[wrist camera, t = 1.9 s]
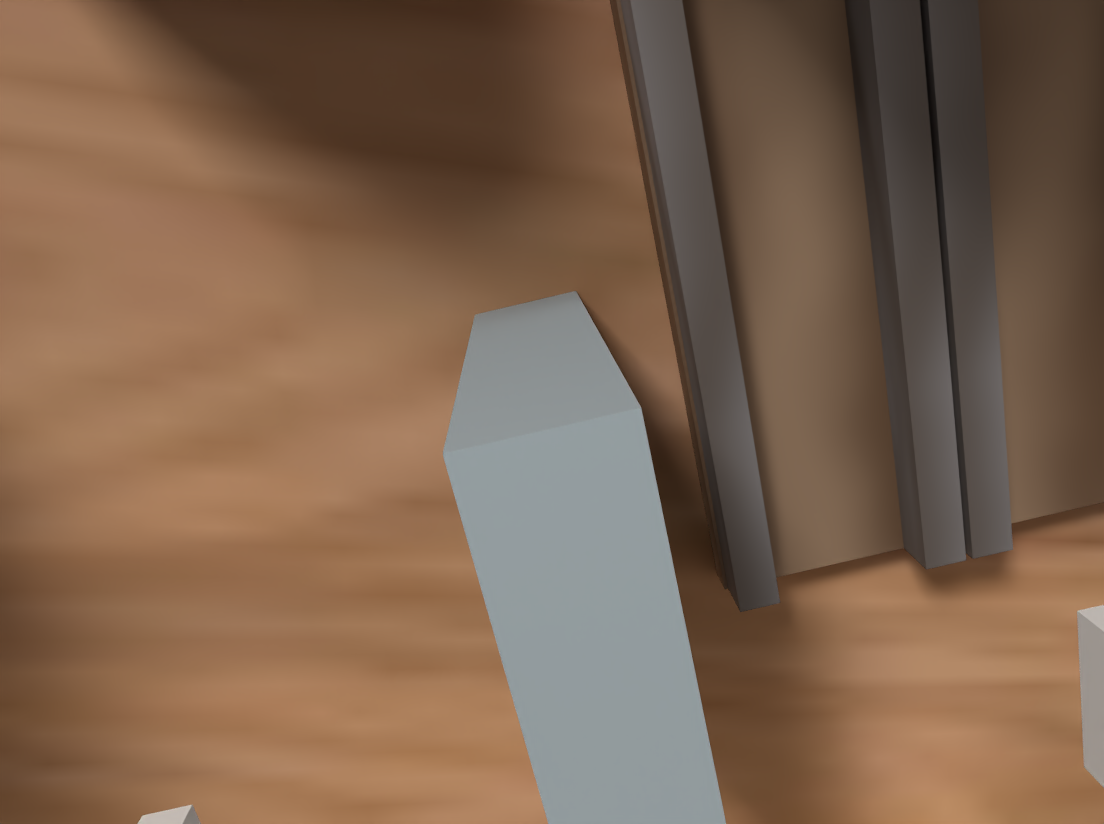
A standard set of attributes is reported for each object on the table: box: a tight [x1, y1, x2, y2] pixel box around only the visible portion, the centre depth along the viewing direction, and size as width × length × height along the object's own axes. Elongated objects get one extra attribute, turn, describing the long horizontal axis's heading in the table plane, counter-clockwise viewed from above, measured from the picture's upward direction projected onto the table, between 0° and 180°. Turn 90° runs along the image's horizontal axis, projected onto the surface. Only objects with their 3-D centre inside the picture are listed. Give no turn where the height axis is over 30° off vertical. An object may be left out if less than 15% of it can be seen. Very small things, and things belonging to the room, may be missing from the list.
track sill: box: [610, 0, 1104, 612], centre depth 15 cm, size 14×24×15 cm, turn 13°
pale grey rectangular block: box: [443, 291, 726, 824], centre depth 19 cm, size 3×10×12 cm, turn 13°
